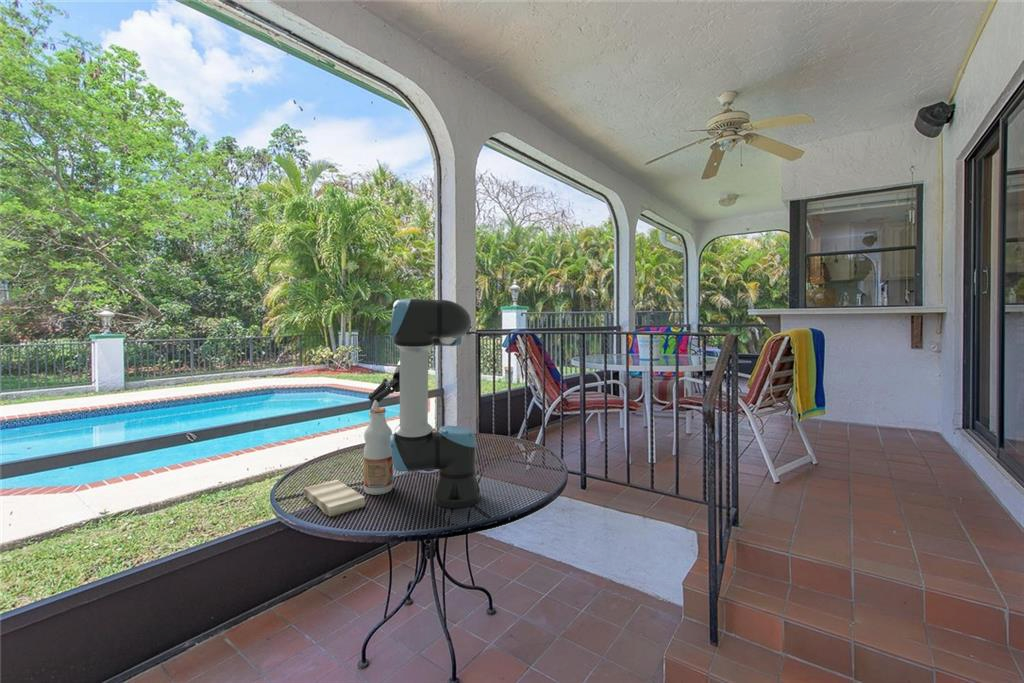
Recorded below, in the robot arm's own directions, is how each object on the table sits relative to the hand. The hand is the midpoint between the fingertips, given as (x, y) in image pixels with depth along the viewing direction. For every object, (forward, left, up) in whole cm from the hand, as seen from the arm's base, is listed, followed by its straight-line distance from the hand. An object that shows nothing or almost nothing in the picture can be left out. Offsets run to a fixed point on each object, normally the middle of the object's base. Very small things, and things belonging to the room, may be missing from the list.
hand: (388, 418), depth 159 cm
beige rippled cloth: (-4, +22, -23) cm, 32 cm away
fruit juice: (-5, +7, -23) cm, 24 cm away
